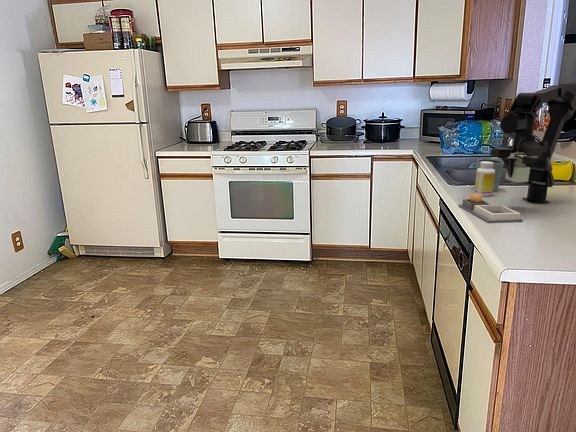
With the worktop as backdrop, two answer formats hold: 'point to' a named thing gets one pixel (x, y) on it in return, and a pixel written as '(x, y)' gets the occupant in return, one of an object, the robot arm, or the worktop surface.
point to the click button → (475, 198)
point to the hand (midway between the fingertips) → (516, 177)
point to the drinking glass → (498, 170)
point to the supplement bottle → (485, 179)
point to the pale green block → (519, 173)
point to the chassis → (491, 212)
